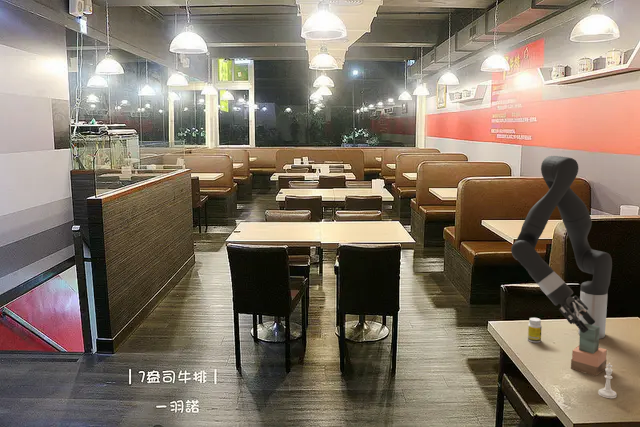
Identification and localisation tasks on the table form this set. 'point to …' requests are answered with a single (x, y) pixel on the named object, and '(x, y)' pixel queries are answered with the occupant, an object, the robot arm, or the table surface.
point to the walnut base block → (588, 368)
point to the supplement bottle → (534, 330)
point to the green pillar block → (589, 339)
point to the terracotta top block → (589, 357)
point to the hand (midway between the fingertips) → (589, 327)
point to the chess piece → (607, 385)
